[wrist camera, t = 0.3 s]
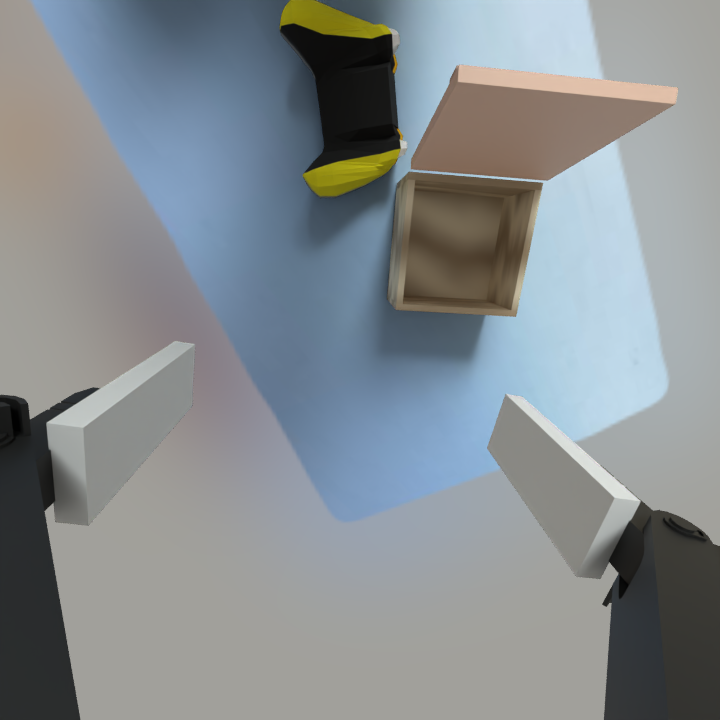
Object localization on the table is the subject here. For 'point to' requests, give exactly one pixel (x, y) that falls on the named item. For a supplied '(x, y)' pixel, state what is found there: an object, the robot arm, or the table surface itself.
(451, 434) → the table surface
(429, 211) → the box
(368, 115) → the gaming controller
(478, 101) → the lid
